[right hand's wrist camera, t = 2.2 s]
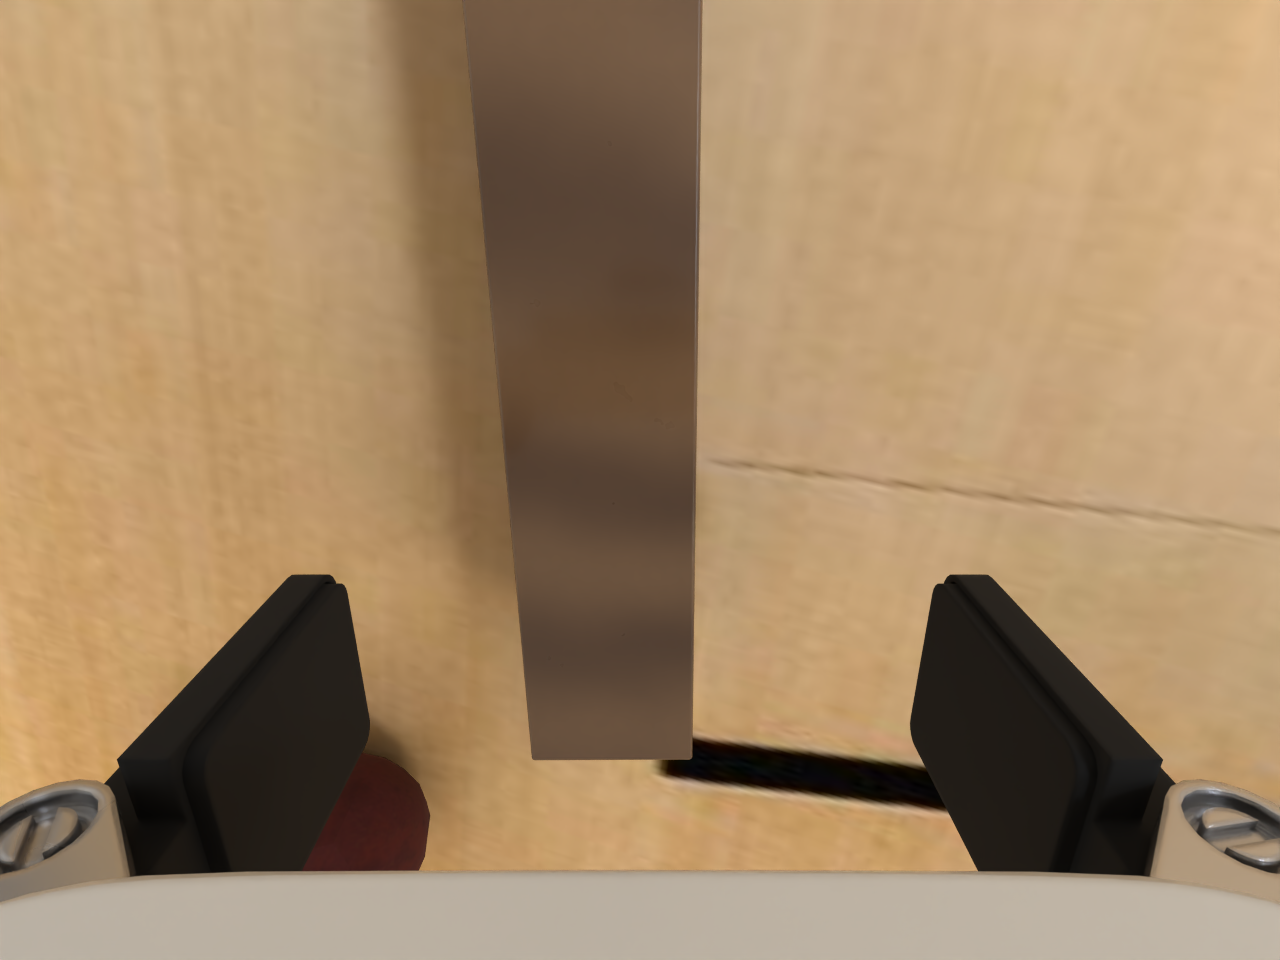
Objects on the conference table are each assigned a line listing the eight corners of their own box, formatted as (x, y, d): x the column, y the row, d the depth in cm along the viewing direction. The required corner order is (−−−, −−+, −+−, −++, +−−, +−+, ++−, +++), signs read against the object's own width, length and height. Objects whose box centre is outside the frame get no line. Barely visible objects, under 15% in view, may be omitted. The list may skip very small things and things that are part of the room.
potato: (246, 742, 31) (138, 886, 24) (402, 690, 30) (332, 827, 23) (331, 857, 33) (254, 1016, 27) (478, 813, 32) (435, 968, 26)
